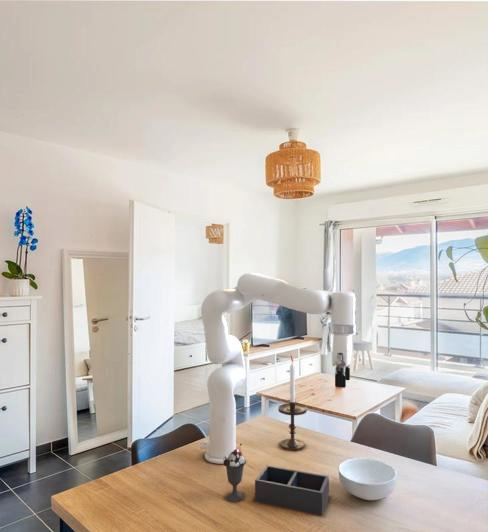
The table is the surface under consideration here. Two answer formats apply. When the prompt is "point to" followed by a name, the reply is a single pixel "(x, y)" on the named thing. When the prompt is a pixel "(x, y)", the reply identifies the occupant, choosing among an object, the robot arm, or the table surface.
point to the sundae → (234, 473)
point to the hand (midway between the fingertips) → (342, 383)
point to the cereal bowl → (367, 478)
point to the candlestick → (292, 414)
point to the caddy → (292, 489)
